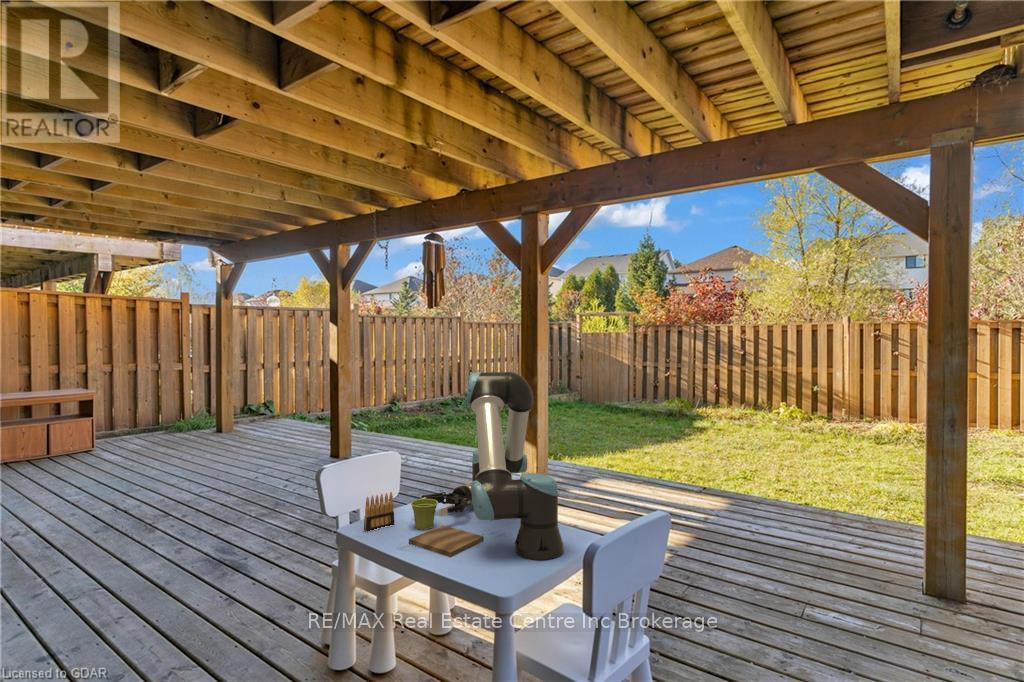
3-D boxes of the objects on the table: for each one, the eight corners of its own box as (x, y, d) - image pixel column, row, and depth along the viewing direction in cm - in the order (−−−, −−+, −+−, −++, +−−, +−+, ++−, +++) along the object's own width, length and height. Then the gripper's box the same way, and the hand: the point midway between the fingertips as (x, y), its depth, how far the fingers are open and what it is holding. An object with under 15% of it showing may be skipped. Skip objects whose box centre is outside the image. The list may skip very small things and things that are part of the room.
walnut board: (483, 540, 170) (483, 536, 170) (450, 557, 157) (450, 552, 157) (443, 529, 181) (443, 525, 181) (408, 543, 168) (408, 539, 168)
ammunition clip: (366, 532, 178) (366, 497, 178) (363, 531, 179) (363, 496, 179) (394, 525, 185) (394, 491, 185) (392, 524, 186) (392, 490, 186)
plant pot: (435, 521, 189) (435, 497, 189) (440, 530, 180) (440, 505, 180) (409, 524, 186) (409, 499, 186) (412, 533, 177) (412, 507, 177)
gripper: (490, 510, 195) (452, 526, 177) (442, 499, 209) (402, 512, 192) (490, 490, 195) (452, 504, 177) (442, 480, 209) (402, 492, 192)
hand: (426, 509), depth 185 cm, fingers open, 13 cm apart
